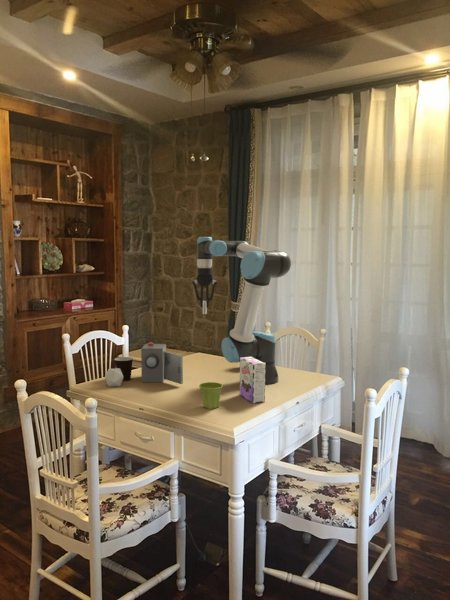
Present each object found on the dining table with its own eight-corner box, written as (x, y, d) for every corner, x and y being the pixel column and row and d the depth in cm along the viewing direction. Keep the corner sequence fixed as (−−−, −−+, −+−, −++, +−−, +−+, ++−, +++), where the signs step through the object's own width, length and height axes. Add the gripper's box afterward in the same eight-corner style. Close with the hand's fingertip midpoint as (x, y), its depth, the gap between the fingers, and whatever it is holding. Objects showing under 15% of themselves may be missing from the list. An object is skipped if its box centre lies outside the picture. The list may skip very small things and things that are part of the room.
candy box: (238, 394, 218) (239, 357, 217) (251, 393, 221) (251, 356, 219) (252, 403, 206) (252, 363, 204) (265, 402, 208) (266, 362, 206)
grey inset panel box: (162, 383, 236) (162, 347, 235) (140, 383, 237) (140, 347, 235) (166, 376, 251) (166, 341, 249) (145, 375, 251) (145, 341, 249)
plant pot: (223, 410, 197) (223, 388, 197) (199, 410, 197) (199, 388, 196) (222, 402, 207) (222, 382, 206) (198, 403, 206) (198, 382, 205)
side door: (161, 379, 239) (161, 351, 237) (165, 378, 240) (165, 351, 239) (179, 384, 229) (179, 356, 228) (183, 383, 230) (183, 355, 229)
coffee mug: (130, 381, 239) (130, 360, 238) (112, 381, 239) (112, 360, 238) (135, 375, 251) (135, 355, 250) (118, 375, 251) (118, 355, 250)
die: (125, 384, 237) (113, 367, 238) (129, 379, 230) (118, 361, 231) (110, 393, 232) (98, 375, 234) (114, 388, 225) (103, 370, 227)
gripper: (218, 267, 262) (218, 312, 264) (192, 267, 262) (192, 312, 264) (217, 267, 255) (217, 314, 257) (190, 267, 255) (190, 314, 257)
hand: (204, 313), depth 261 cm, fingers closed
